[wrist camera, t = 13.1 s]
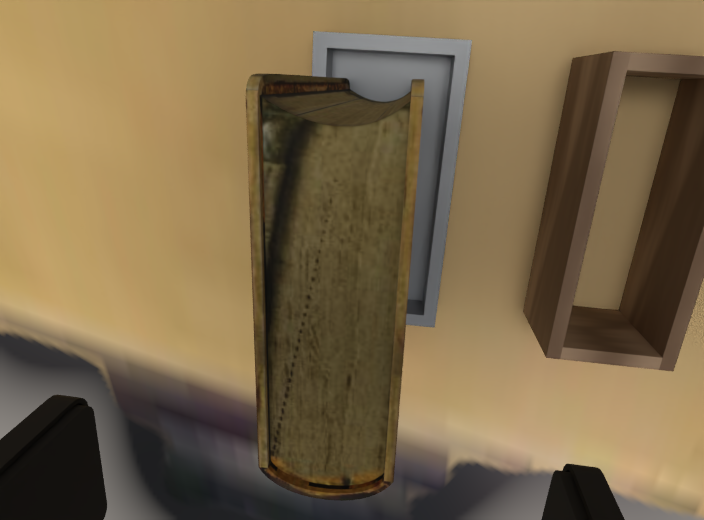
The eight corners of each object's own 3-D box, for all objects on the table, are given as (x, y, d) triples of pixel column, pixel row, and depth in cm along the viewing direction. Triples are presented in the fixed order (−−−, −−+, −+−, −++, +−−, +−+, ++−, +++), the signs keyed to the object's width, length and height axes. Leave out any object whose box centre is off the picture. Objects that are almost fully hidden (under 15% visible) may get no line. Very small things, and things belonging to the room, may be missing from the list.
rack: (699, 65, 36) (773, 60, 29) (628, 322, 44) (673, 371, 36) (572, 58, 37) (613, 51, 30) (523, 311, 44) (546, 357, 37)
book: (401, 280, 44) (392, 507, 20) (340, 275, 44) (259, 492, 21) (416, 81, 38) (426, 74, 15) (345, 78, 39) (244, 68, 15)
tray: (465, 44, 38) (472, 40, 34) (432, 307, 45) (434, 327, 41) (322, 36, 39) (313, 31, 35) (313, 295, 46) (304, 313, 42)
